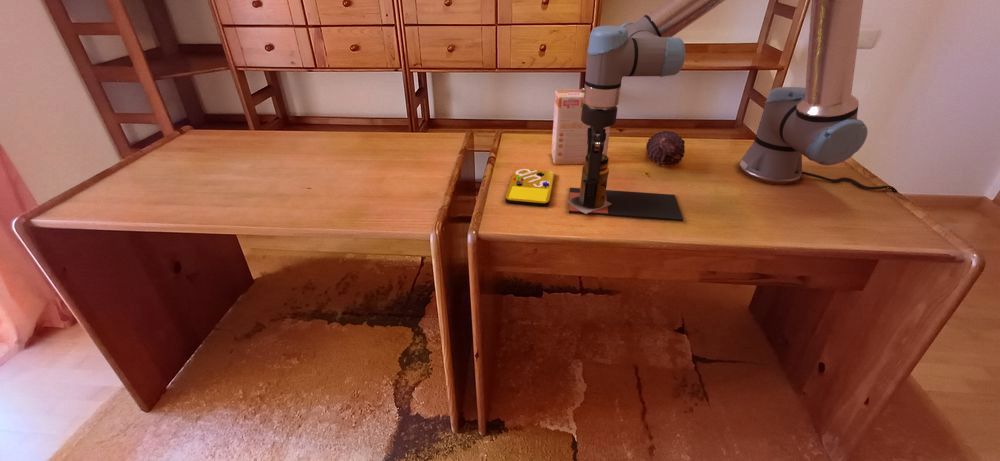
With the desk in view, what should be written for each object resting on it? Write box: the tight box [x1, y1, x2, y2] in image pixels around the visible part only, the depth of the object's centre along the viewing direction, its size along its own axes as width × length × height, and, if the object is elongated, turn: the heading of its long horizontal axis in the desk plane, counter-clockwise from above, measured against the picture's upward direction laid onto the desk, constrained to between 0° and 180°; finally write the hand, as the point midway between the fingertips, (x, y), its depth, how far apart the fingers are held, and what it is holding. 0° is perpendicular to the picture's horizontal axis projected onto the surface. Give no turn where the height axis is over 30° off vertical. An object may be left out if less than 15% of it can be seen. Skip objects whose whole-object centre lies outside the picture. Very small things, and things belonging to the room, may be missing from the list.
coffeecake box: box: [551, 88, 612, 165], centre depth 133 cm, size 15×7×20 cm, turn 92°
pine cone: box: [645, 130, 686, 167], centre depth 135 cm, size 18×10×10 cm
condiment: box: [565, 154, 611, 215], centre depth 112 cm, size 7×8×12 cm
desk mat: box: [568, 187, 684, 222], centre depth 116 cm, size 26×12×1 cm, turn 82°
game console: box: [504, 168, 555, 208], centre depth 123 cm, size 18×11×2 cm, turn 171°
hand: (588, 198), depth 115 cm, fingers closed on condiment, 6 cm apart
